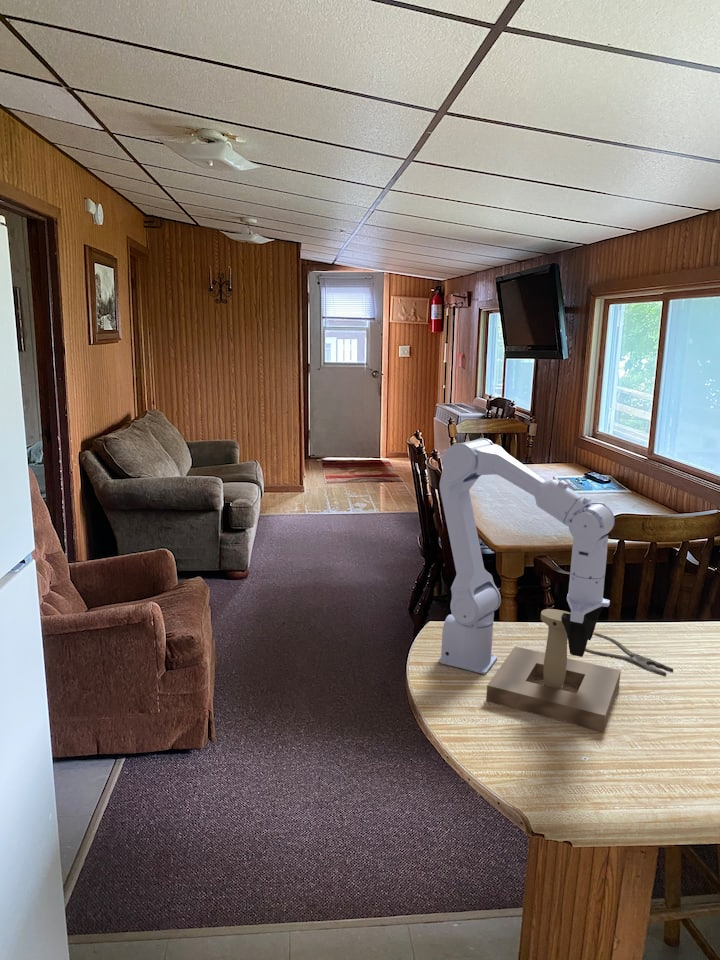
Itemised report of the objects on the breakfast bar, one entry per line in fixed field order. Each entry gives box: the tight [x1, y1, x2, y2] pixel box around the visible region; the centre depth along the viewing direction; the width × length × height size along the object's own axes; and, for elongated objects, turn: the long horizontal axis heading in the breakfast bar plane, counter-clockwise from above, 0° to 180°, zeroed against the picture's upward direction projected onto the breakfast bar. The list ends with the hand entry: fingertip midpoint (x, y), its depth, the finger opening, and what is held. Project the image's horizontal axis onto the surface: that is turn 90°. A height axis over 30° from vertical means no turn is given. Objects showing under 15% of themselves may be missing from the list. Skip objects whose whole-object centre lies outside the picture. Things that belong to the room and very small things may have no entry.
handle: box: [540, 608, 571, 690], centre depth 127 cm, size 5×6×15 cm
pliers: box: [585, 632, 674, 676], centre depth 145 cm, size 10×1×20 cm
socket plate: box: [485, 646, 622, 733], centre depth 128 cm, size 20×18×3 cm
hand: (580, 646), depth 125 cm, fingers open, 7 cm apart
